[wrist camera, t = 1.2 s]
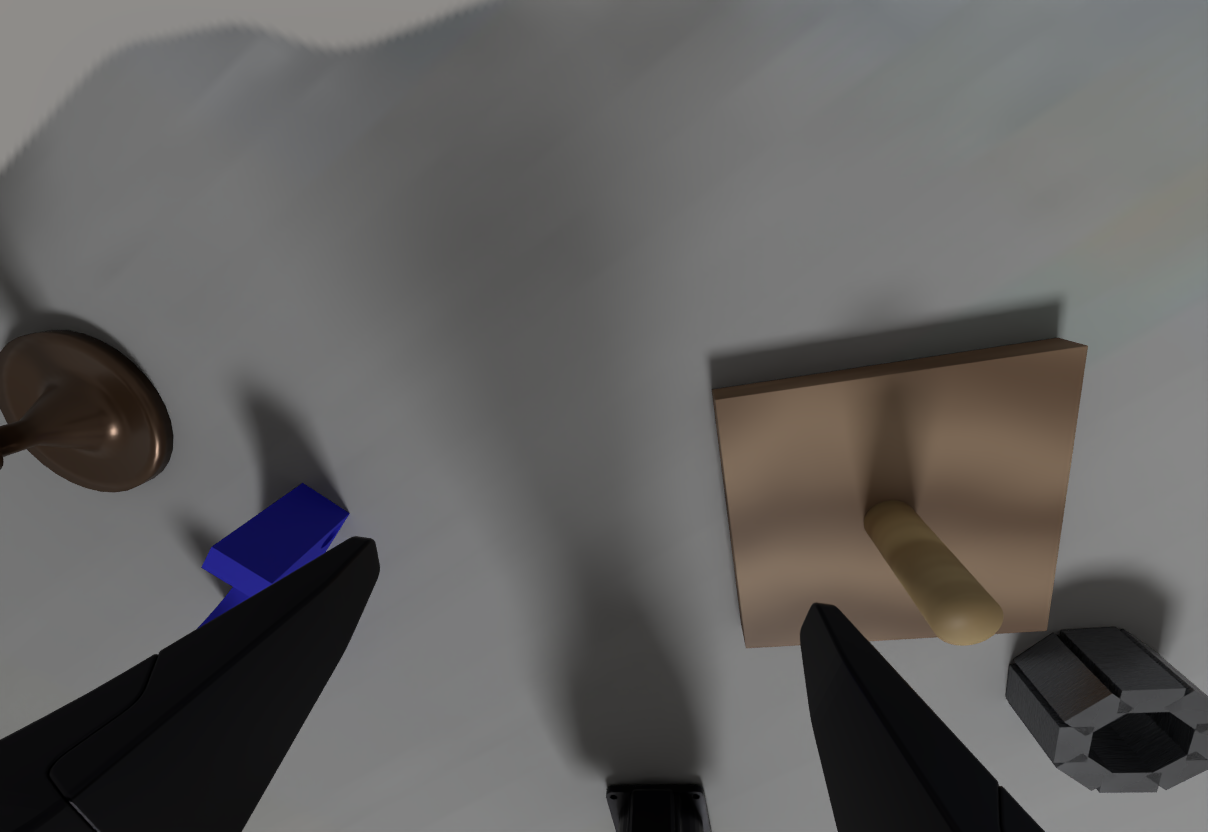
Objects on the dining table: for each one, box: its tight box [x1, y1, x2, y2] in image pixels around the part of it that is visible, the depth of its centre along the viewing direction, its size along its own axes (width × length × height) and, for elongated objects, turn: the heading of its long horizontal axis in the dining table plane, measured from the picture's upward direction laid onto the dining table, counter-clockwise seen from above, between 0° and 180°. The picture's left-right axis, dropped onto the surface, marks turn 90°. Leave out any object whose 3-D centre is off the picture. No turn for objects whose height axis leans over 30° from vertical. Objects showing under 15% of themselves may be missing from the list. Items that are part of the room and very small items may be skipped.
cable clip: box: [197, 483, 350, 629], centre depth 26 cm, size 12×4×6 cm, turn 143°
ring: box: [1006, 627, 1208, 793], centre depth 24 cm, size 7×7×4 cm
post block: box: [712, 338, 1088, 648], centre depth 20 cm, size 14×14×8 cm
